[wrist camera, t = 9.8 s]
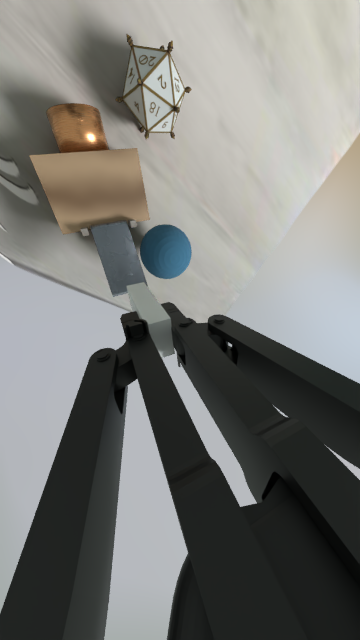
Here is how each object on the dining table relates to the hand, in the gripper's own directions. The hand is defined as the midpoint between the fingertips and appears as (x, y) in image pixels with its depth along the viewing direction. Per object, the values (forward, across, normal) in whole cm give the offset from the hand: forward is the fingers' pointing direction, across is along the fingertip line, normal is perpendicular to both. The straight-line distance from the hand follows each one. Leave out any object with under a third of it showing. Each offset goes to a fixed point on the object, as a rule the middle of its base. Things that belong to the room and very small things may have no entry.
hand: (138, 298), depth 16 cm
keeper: (+13, 0, 0) cm, 13 cm away
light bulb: (+24, +8, 0) cm, 25 cm away
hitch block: (+23, 0, +9) cm, 25 cm away
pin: (+23, 0, +9) cm, 24 cm away
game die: (+23, +10, +19) cm, 31 cm away
